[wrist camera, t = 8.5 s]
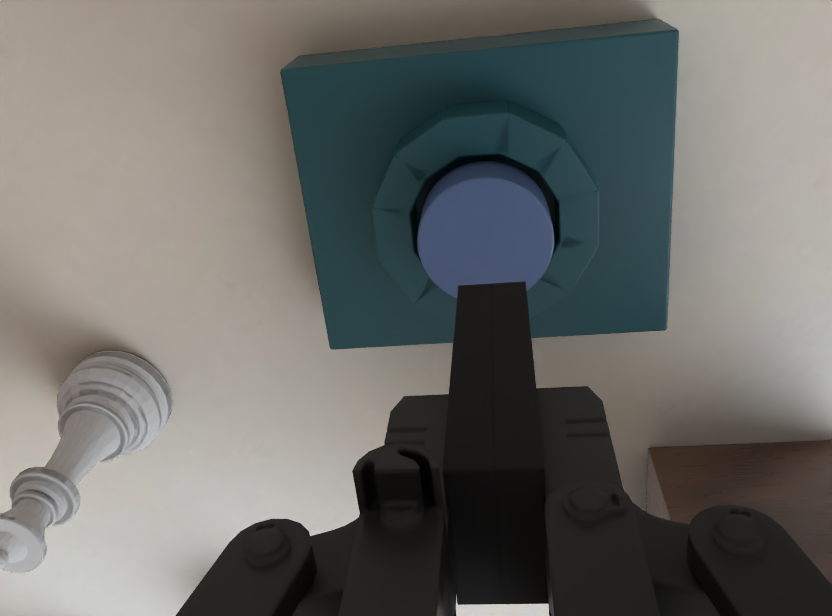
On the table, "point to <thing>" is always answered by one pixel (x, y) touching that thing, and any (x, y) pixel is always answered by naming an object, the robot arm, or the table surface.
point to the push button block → (490, 141)
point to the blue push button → (485, 228)
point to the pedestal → (750, 487)
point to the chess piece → (83, 447)
